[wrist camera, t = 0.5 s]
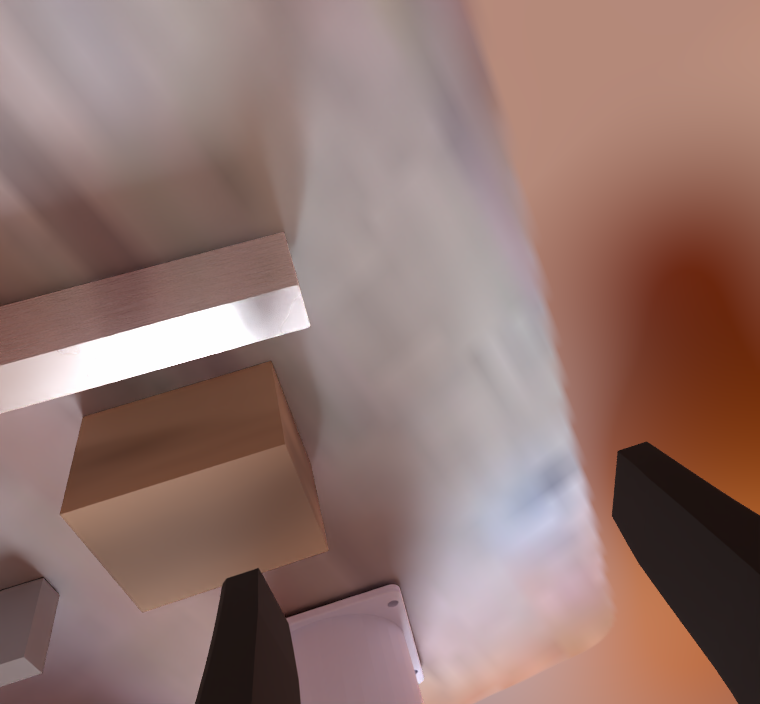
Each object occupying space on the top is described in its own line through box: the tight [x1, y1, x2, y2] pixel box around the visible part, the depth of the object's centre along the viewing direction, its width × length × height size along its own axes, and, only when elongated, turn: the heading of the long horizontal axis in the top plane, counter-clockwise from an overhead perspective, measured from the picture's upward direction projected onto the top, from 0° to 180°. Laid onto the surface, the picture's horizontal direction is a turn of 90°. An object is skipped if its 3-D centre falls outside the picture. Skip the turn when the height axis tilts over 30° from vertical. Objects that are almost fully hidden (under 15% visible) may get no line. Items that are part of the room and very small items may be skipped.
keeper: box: [0, 232, 311, 414], centre depth 15 cm, size 12×1×4 cm, turn 100°
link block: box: [60, 361, 329, 613], centre depth 19 cm, size 5×6×4 cm
